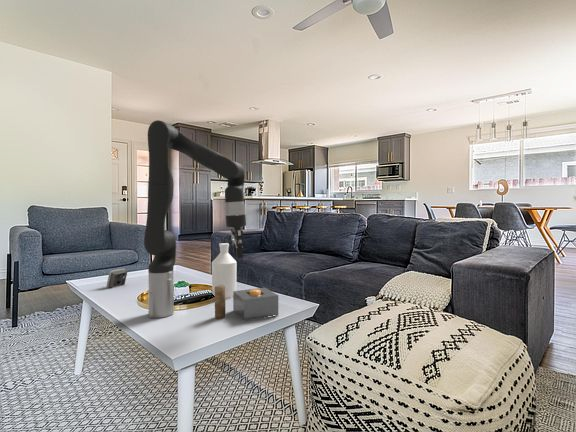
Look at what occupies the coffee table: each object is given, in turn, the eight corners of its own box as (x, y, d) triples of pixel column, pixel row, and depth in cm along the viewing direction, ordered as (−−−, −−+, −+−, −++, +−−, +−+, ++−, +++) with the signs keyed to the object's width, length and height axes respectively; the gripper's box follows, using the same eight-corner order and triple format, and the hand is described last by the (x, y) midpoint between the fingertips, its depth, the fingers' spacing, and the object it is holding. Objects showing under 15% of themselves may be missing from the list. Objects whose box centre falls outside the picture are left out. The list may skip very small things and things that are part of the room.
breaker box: (244, 321, 121) (244, 299, 121) (233, 310, 134) (233, 291, 133) (278, 315, 127) (278, 295, 127) (264, 306, 140) (264, 287, 140)
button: (252, 307, 127) (251, 292, 127) (248, 304, 131) (248, 290, 131) (262, 306, 129) (262, 291, 129) (258, 303, 133) (258, 288, 133)
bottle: (238, 292, 163) (237, 242, 163) (235, 298, 152) (234, 245, 151) (214, 292, 163) (214, 242, 163) (209, 298, 151) (209, 245, 151)
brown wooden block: (216, 319, 122) (216, 288, 122) (213, 316, 126) (213, 285, 126) (226, 318, 124) (226, 287, 124) (223, 315, 128) (223, 284, 128)
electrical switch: (120, 284, 181) (121, 267, 181) (127, 285, 179) (128, 269, 179) (105, 287, 172) (106, 270, 172) (113, 289, 171) (114, 272, 170)
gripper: (223, 215, 128) (226, 255, 129) (227, 214, 115) (230, 260, 115) (242, 213, 130) (245, 254, 131) (248, 213, 117) (251, 258, 117)
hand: (238, 257), depth 123 cm, fingers open, 8 cm apart
